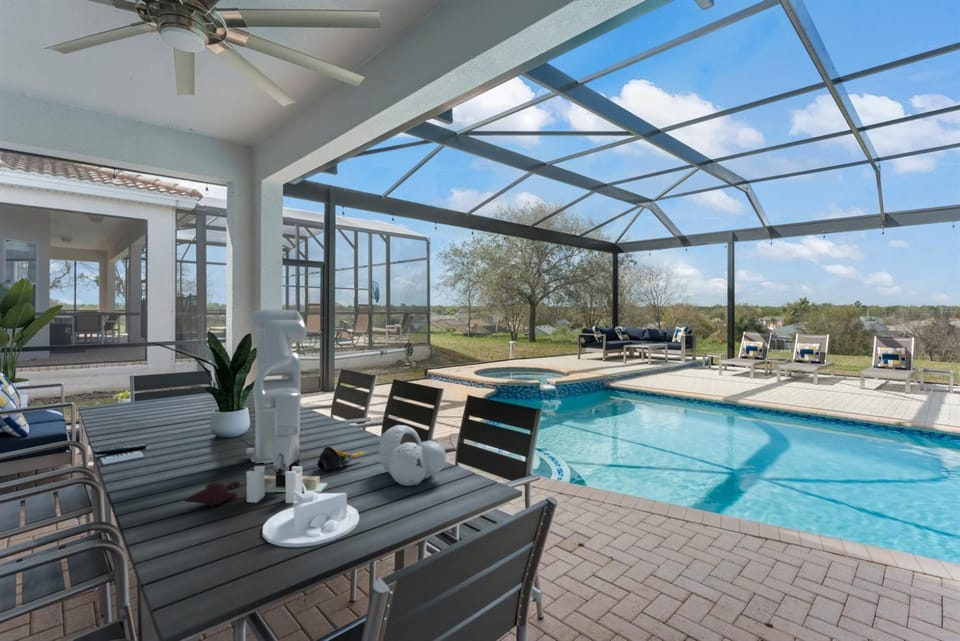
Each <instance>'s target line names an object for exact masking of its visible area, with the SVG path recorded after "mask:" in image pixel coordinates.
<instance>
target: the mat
mask: <svg viewBox="0 0 960 641" xmlns="http://www.w3.org/2000/svg"><path fill="white" fill-rule="evenodd" d="M327 486H328V482H320V485H319V486H318V487H317V488H316V489H306V491H314V492H316V493H322V492H323V491H324V489H325V488H327ZM245 492H246V493H247V489H246V491H245ZM274 492H286V488H265V493H274ZM302 492H304V489H302Z"/></svg>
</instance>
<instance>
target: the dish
mask: <svg viewBox="0 0 960 641" xmlns="http://www.w3.org/2000/svg"><path fill="white" fill-rule="evenodd" d="M300 482H301V484H302V486H303V489H304V493H302V494H300V493H298V492H297V491H295V490H294V491H293V492H292V494H293V495H294V503H293V507H292V506H291V507H289V508H287V509H284V510H281V511H279V512H278V513H275V514H274V515H273V516H271V517H269V518H268V519H267V520H266V522H265V523H264V524H263V525H262V537H263V538H264V540H266V542H268V543H270V544H273V545H276V546H278V547H284V548H285V547H287V548H303V547H304V548H305V547H312V546H313V547H315V546H318V545H321V544H325V543H330V542H333V541H335V540H338V539H340V538H341V537H345V536H346V535H347V534H349V533H350V532H352V531H353V530H354V529H356V527H357V526H358V523H359V521H360V514H359V511H358V510H357V509H356V508H354V507H353V506H351V505H350V504H347V503H348V493H347V492H336V493H335V492H333V493H332V492H329V493H327V492H324V493H323V492H320V493H316V492H314V491H306V488H305V486H304V484H303V483H302V481H300ZM356 525H357V526H356Z"/></svg>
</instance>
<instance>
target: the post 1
mask: <svg viewBox="0 0 960 641" xmlns="http://www.w3.org/2000/svg"><path fill="white" fill-rule="evenodd" d="M265 471H266V465H254V467H253V470H247V471H246V474H245V475H246V490H247V492H246V503H247V502H249V503H250V502H251V504H252V503H253V502H254V503H255V504H257V503H258V502H260V500H262V499H263V498H264V497H265V496H266V495H265V494H266V492H265V476H266V475H265V473H266V472H265Z"/></svg>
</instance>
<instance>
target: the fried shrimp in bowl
mask: <svg viewBox="0 0 960 641" xmlns="http://www.w3.org/2000/svg"><path fill="white" fill-rule="evenodd" d="M349 453H350V452H349V451H346V452H344V451H339V450H336V448H332V447H331V446H326V447H324V448H323V451H322V452H321V453H320V456H319V459H318V461H317V467H318V468H319V469H320V470H321V471H322V472H325V470H327V471H332V470H335V469H338V468H339V469H344V468H346V467H347V466H349V463H351V461H352V459H354V458H358V457H362V456H364V455H365V454H366V450H362V451H359V452H356V453H352V454H349ZM343 467H344V468H343Z"/></svg>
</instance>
